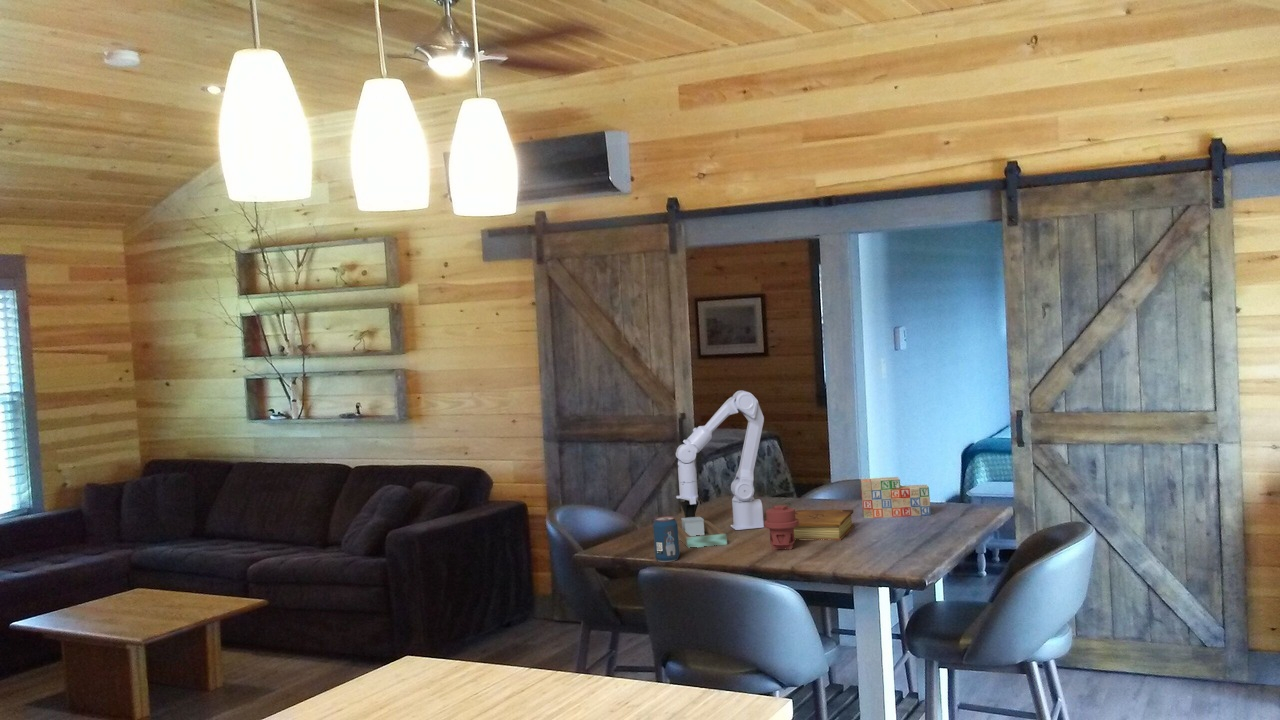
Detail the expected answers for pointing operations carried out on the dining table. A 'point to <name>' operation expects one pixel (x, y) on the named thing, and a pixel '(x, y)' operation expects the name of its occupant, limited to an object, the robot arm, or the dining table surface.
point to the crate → (693, 525)
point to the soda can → (666, 539)
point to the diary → (823, 524)
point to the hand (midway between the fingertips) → (690, 523)
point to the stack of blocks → (893, 498)
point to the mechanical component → (781, 526)
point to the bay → (704, 537)
